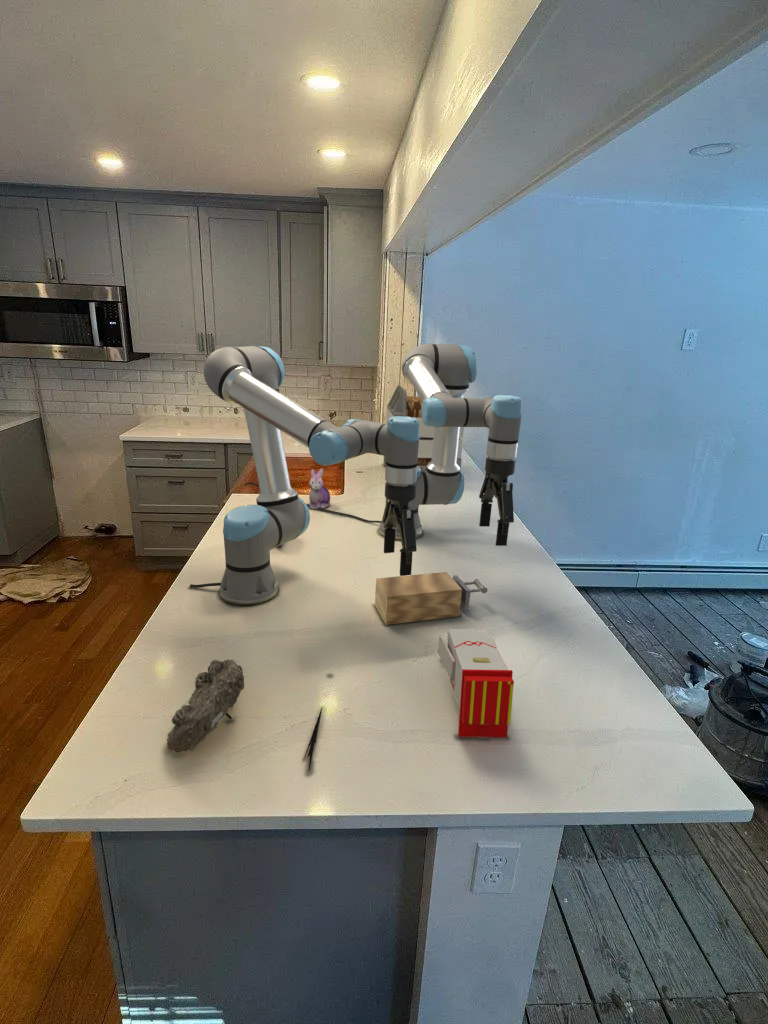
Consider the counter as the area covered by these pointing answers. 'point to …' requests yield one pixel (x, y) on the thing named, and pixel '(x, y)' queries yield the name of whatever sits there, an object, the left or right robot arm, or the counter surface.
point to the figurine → (318, 491)
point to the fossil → (206, 705)
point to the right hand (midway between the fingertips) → (492, 535)
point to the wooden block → (417, 597)
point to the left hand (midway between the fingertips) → (396, 563)
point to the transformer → (412, 408)
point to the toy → (478, 682)
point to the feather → (313, 740)
